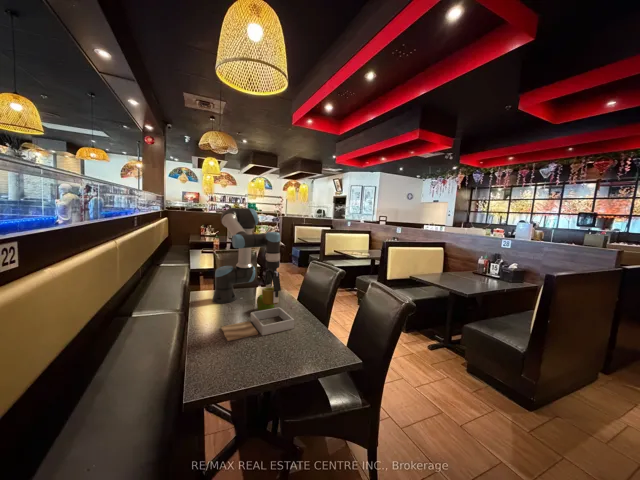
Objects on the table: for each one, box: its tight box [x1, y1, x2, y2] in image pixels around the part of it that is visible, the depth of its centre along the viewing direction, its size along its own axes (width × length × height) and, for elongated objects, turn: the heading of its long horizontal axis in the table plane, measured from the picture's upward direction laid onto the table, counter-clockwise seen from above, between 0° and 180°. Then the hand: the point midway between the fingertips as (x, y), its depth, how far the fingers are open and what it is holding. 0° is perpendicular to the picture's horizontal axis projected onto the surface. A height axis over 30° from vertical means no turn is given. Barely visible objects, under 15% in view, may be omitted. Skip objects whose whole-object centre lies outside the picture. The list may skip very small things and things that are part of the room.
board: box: [220, 320, 259, 342], centre depth 134 cm, size 15×15×1 cm
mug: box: [261, 286, 281, 305], centre depth 142 cm, size 12×10×10 cm
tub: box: [250, 306, 295, 336], centre depth 143 cm, size 20×18×5 cm
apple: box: [256, 294, 275, 311], centre depth 163 cm, size 11×11×11 cm
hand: (271, 299), depth 142 cm, fingers closed on mug, 11 cm apart
